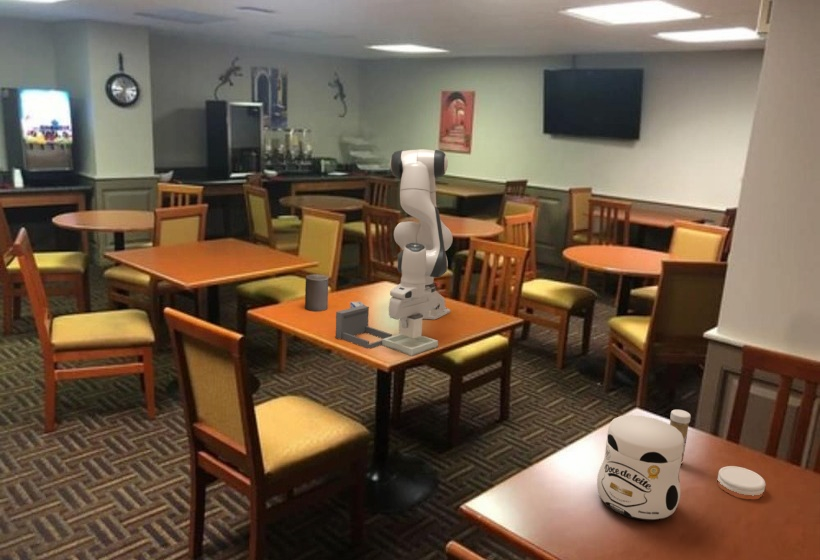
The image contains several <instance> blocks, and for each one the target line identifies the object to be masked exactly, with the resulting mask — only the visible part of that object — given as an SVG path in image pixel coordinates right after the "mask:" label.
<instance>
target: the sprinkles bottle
mask: <svg viewBox="0 0 820 560" xmlns="http://www.w3.org/2000/svg"><path fill="white" fill-rule="evenodd" d="M691 418H692V417H691V413H689V412H688V411H686V410H683V409H673V410H671V412H670V418H669V419H670V422H669V424H670V425H672V426H674V427H675V428H676V429H678V430H679V431H680V432H681V433H682V436H683V440H684V445H683V452H682V460H681V462H682V461H683V462H684V456H685V451H686V444H687V438H688V432H689V424H690V422H691Z"/></svg>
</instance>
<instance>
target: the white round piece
mask: <svg viewBox="0 0 820 560" xmlns="http://www.w3.org/2000/svg"><path fill="white" fill-rule="evenodd" d="M717 480H718V481H719V482H720V484H721V485H723V486H724V487H726V488H727V489H729V490H731V491H734V492H737V493H739V494H744V495H752V496H754V495H760V494H762V493H763V492H764V493H765V487H766V481H765V479H764V478H763V477H762V476H761V474H758V473H757V472H755V471H753V470H751V469H748V468H745V467H742V466H741V467H740V466H735V465H729V466H728V465H727V466H723V467H721V468H720V469H719V470H718V475H717Z"/></svg>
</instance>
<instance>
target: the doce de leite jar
mask: <svg viewBox="0 0 820 560" xmlns="http://www.w3.org/2000/svg"><path fill="white" fill-rule="evenodd" d="M606 434H607V435H606V436H607V439H606V443H605V453H604V458H603V461H602V462H601V465H600V467H599V469H598V473H597V480H596V481H597V483H596V486H597V493H598V496H599V497H600V499H601V500H602V502H603V503H604V504H605V505H606V506H608V507H609V508H610V509H612V510H613V511H614V512H616V513H618V514H620V513H621V515H623V516H624V515H625V516H624V517H626V518H630V519H631V518H632V519H635V520H638V521H649V522H650V521H651V522H653V521H658V520H659V519H660V520H665V519H667V518H669V517H670V516H672V515H673V514H674V513H675V511H676V509H677V508H678V506H679V505H678V504H679V502H680V499H681V490H682V489H681V484H680V469H681V466H682V465H681V460H682V452H683V445H684V440H683V436H682V433H681V432H680V431H679V430H678V429H676V428H675V427H674V426H672V425H670V423H668V422H666V421H663V420H660V419H658V418H654V417H649V416H645V415H635V414H634V415H633V414H631V415H629V414H628V415H621V416H618V417H615V418H613V419H612V421H610V423H609V425H608V430H607V432H606ZM660 520H659V521H660Z"/></svg>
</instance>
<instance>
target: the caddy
mask: <svg viewBox="0 0 820 560" xmlns="http://www.w3.org/2000/svg"><path fill="white" fill-rule="evenodd" d="M422 317H423V315H422V314H414V315H411V316H408V317H407V320H406V322H407V323H408V328H406V329H404V328H402V322H401V320H400V319H398V320H399V321H398V322H399V323H398V334H401V335H404V336H407V337H411V338H416V337H419V336H421V335H422V333H423V332H422V331H423V330H422V329H423V319H422Z"/></svg>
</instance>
